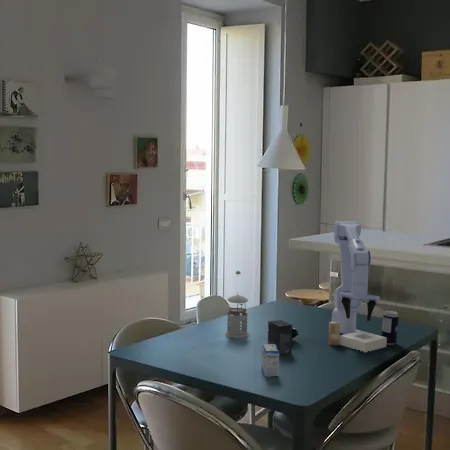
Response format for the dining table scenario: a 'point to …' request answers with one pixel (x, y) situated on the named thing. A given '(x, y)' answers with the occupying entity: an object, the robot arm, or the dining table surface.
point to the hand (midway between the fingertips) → (358, 319)
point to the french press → (237, 317)
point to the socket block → (363, 341)
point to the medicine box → (270, 360)
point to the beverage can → (390, 326)
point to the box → (280, 336)
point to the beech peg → (334, 333)
